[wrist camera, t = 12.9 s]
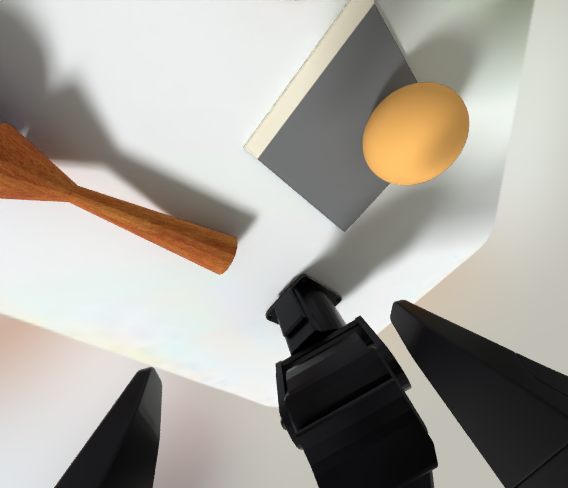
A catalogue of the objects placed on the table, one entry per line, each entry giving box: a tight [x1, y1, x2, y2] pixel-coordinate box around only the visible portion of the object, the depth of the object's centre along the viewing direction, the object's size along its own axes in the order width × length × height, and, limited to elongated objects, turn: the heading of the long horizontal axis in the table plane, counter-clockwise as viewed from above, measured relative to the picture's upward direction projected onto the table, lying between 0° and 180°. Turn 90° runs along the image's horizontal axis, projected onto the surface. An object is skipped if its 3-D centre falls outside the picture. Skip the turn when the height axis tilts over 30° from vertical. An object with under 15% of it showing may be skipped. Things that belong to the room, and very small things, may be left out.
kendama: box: [0, 123, 237, 274], centre depth 14 cm, size 6×6×20 cm
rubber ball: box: [363, 82, 469, 185], centre depth 17 cm, size 6×6×6 cm
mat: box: [244, 0, 417, 232], centre depth 19 cm, size 12×12×1 cm
